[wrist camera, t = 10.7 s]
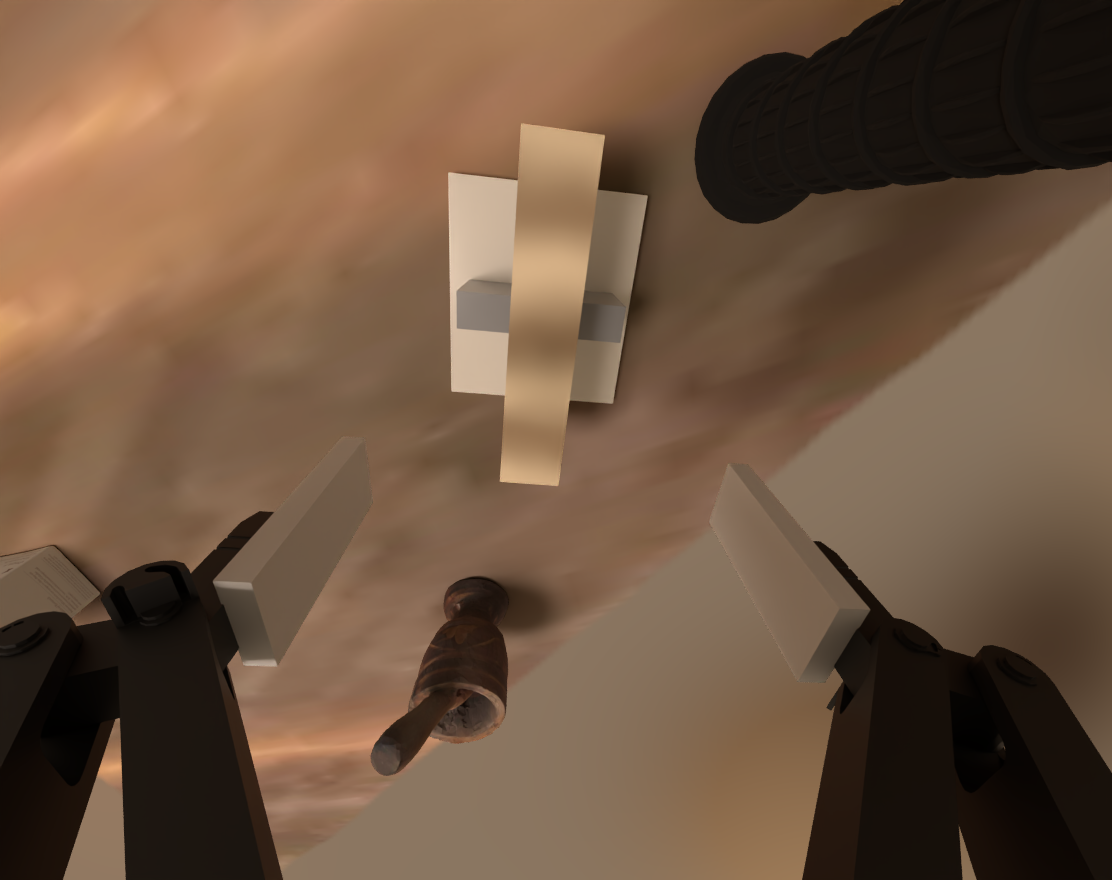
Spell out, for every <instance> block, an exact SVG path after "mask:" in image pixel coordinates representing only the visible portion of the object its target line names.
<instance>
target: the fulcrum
mask: <svg viewBox="0 0 1112 880" xmlns="http://www.w3.org/2000/svg"><path fill="white" fill-rule="evenodd" d="M448 180H449V249H450V318H451V387H452V391H455V392H468V393H481V394H493V395H505V389H506V372H507V355H508V338H509V321H510V304H511V287H512V271H513V254H514V237H515V220H516V203H517V186H518V180H509V179H501V178H492V177H483V176H475V175H466V174H457V173H449V172H448ZM647 198H648V196H647V195H638V194H630V193H621V192H613V191H604V190H598V191H597V198H596V206H595V213H594V221H593V229H592V236H591V244H590V251H589V259H588V266H587V274H586V281H585V289H584V296H583V304H582V311H581V319H580V326H579V334H578V341H577V349H576V356H575V364H574V371H573V379H572V386H571V394H570V400H571V401H584V402H597V403H610V404H613V399H614V393H615V387H616V381H617V375H618V369H619V363H620V357H621V351H622V345H623V339H624V334H625V328H626V322H627V316H628V310H629V304H630V298H631V292H632V286H633V280H634V274H635V269H636V263H637V257H638V251H639V245H640V239H641V233H642V227H643V221H644V215H645V209H646V203H647Z"/></svg>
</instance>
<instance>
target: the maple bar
mask: <svg viewBox="0 0 1112 880" xmlns="http://www.w3.org/2000/svg"><path fill="white" fill-rule="evenodd" d="M604 138H605V135H600V134H593V133H586V132H578V131H571V130H564V129H557V128H550V127H543V126H536V125H529V124H522V123H521V136H520V153H519V169H518V186H517V203H516V220H515V237H514V254H513V271H512V287H511V304H510V321H509V338H508V355H507V372H506V389H505V405H504V422H503V439H502V456H501V473H500V482H512V483H526V484H539V485H553V486H558V484H559V477H560V469H561V462H562V454H563V447H564V439H565V432H566V424H567V417H568V409H569V401H570V394H571V386H572V379H573V371H574V364H575V356H576V349H577V341H578V334H579V326H580V319H581V311H582V304H583V296H584V289H585V281H586V274H587V266H588V259H589V251H590V244H591V236H592V229H593V221H594V213H595V206H596V198H597V191H598V183H599V176H600V168H601V161H602V153H603V146H604Z"/></svg>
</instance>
